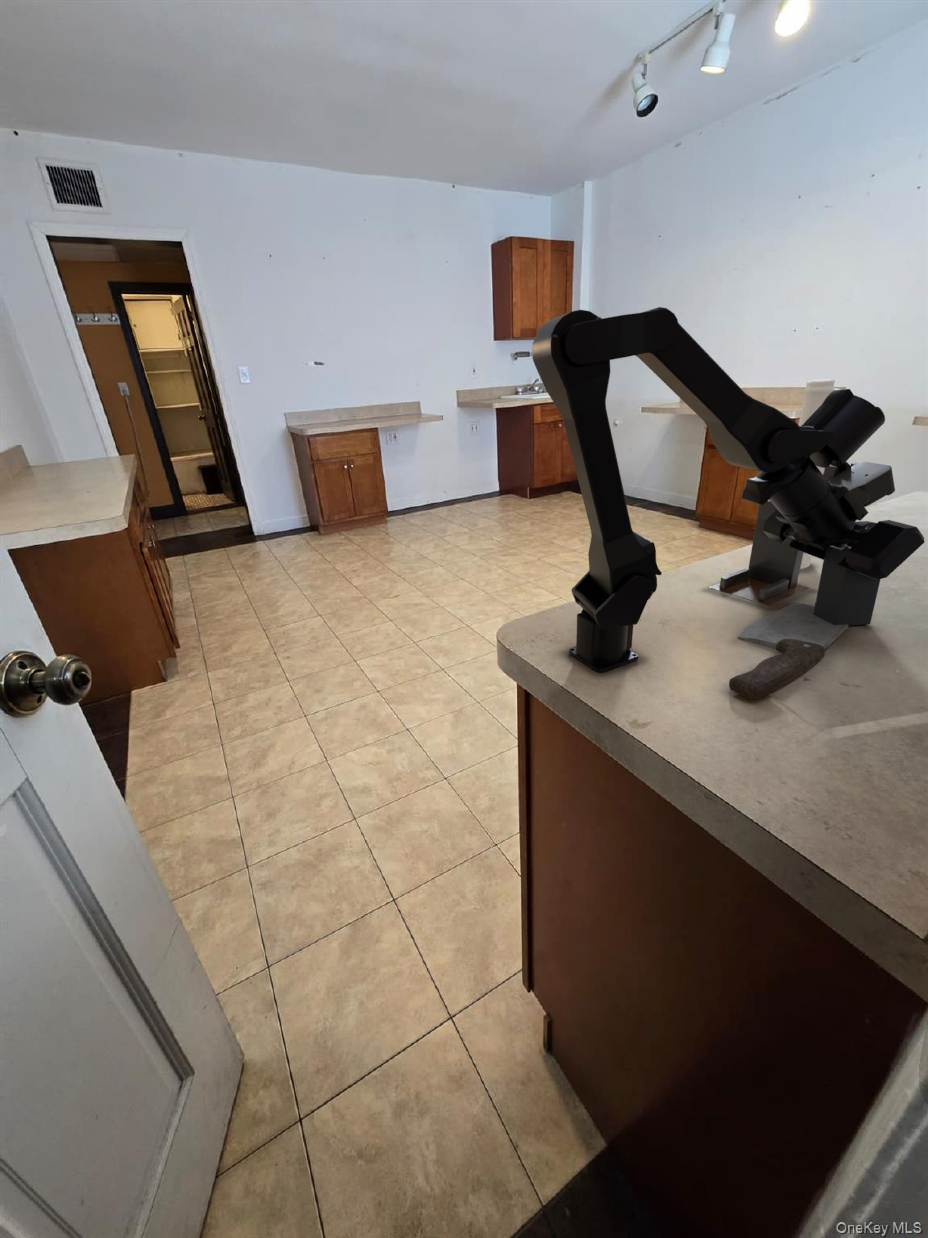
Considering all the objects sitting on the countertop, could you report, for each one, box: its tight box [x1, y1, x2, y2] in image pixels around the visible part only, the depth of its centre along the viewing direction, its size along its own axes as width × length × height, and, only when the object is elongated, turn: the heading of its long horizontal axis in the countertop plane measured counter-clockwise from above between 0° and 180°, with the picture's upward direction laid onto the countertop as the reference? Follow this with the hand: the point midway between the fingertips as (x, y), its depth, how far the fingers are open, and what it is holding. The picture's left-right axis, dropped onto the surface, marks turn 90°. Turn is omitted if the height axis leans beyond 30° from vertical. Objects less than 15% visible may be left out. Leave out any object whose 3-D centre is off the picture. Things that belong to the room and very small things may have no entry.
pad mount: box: [708, 500, 811, 607], centre depth 79 cm, size 11×10×14 cm
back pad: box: [813, 520, 881, 626], centre depth 67 cm, size 5×4×13 cm
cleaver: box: [728, 602, 850, 699], centre depth 65 cm, size 30×10×2 cm, turn 133°
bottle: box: [798, 378, 836, 570], centre depth 85 cm, size 8×8×30 cm
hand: (863, 571), depth 67 cm, fingers closed on back pad, 4 cm apart
